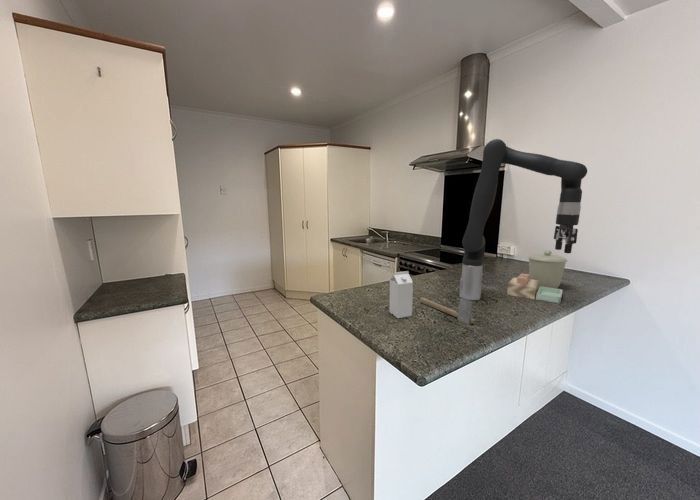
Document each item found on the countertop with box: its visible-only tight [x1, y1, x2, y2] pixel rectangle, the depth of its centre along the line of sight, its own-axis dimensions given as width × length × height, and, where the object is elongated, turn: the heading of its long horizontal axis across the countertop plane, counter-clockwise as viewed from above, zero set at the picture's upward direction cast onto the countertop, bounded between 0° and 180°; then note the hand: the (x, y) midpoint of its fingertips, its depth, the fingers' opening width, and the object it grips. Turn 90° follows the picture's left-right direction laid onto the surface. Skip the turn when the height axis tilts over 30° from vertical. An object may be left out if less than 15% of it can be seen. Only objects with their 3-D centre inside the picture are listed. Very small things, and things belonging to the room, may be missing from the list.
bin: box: [535, 286, 563, 305], centre depth 136 cm, size 10×16×3 cm, turn 140°
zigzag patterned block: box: [506, 276, 539, 300], centre depth 143 cm, size 12×16×6 cm
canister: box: [527, 249, 568, 289], centre depth 152 cm, size 18×18×21 cm
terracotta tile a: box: [516, 275, 528, 285], centre depth 140 cm, size 4×5×3 cm
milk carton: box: [388, 270, 414, 319], centre depth 116 cm, size 7×7×19 cm
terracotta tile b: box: [518, 273, 530, 282], centre depth 145 cm, size 4×5×3 cm
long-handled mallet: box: [419, 297, 476, 325], centre depth 118 cm, size 10×2×30 cm
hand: (562, 251), depth 116 cm, fingers open, 8 cm apart
